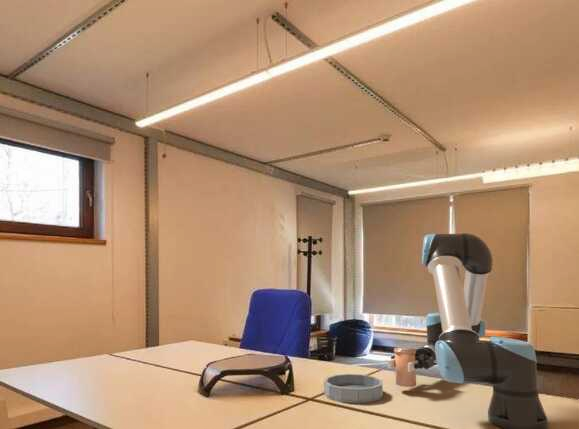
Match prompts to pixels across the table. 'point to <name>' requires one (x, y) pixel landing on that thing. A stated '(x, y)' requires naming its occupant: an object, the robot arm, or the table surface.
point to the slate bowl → (353, 388)
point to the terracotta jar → (404, 366)
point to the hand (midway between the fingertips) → (398, 365)
